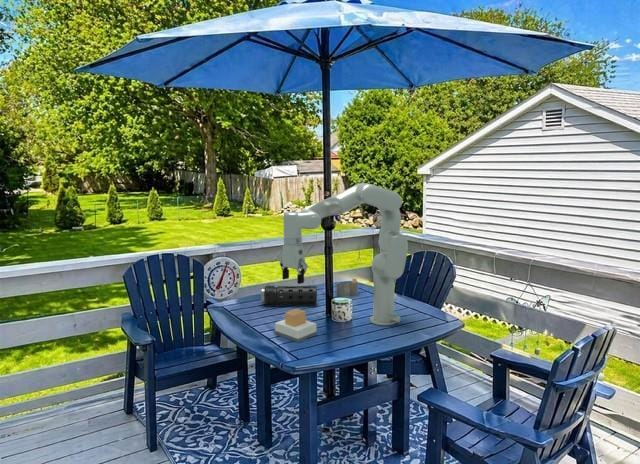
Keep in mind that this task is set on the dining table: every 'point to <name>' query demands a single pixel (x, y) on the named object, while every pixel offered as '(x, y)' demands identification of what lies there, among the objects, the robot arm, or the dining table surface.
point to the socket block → (295, 330)
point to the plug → (295, 317)
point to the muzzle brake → (289, 295)
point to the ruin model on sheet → (347, 288)
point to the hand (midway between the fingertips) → (293, 280)
